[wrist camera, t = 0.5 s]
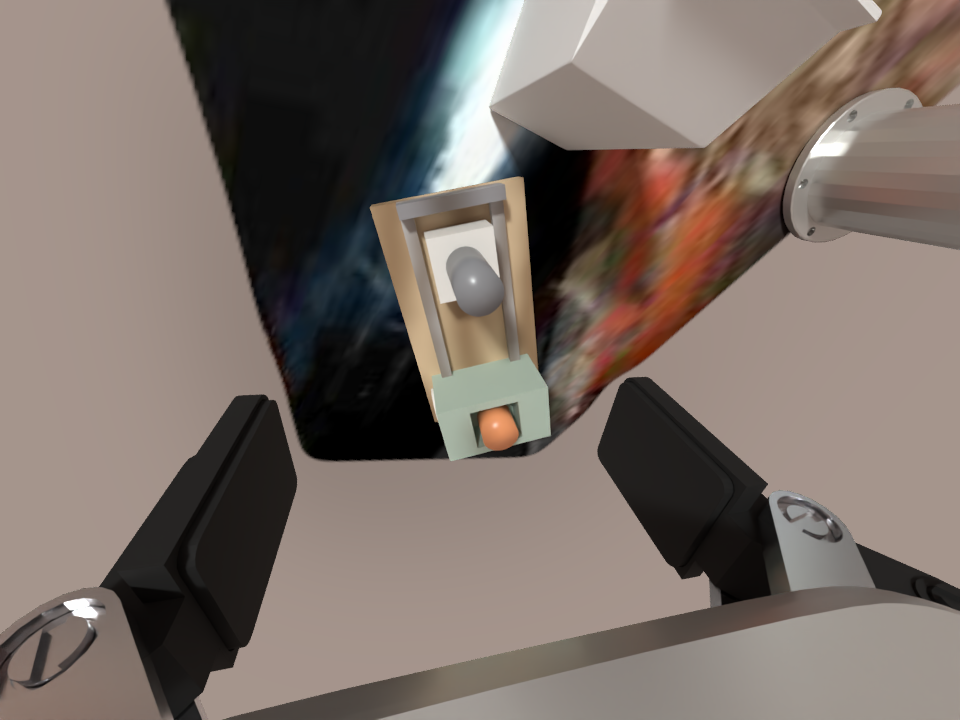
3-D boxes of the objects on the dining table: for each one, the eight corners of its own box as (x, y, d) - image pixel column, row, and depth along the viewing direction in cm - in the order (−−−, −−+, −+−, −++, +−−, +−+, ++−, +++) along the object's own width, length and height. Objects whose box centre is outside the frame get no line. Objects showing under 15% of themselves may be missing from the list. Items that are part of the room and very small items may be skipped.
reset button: (507, 398, 32) (516, 419, 29) (511, 423, 34) (520, 445, 31) (474, 406, 32) (480, 428, 29) (479, 431, 33) (486, 454, 31)
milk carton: (566, 151, 28) (790, 148, 12) (487, 108, 25) (631, 30, 9) (614, 44, 25) (1001, -159, 9) (528, -17, 22) (849, -454, 6)
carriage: (485, 219, 27) (515, 244, 20) (493, 278, 30) (523, 321, 22) (423, 231, 27) (430, 262, 19) (437, 291, 30) (448, 338, 22)
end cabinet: (523, 346, 36) (547, 387, 30) (527, 390, 40) (550, 435, 33) (426, 369, 36) (431, 415, 29) (439, 412, 39) (446, 462, 32)
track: (518, 176, 28) (531, 179, 25) (535, 388, 40) (546, 407, 37) (371, 205, 27) (367, 211, 24) (434, 413, 39) (436, 434, 36)
